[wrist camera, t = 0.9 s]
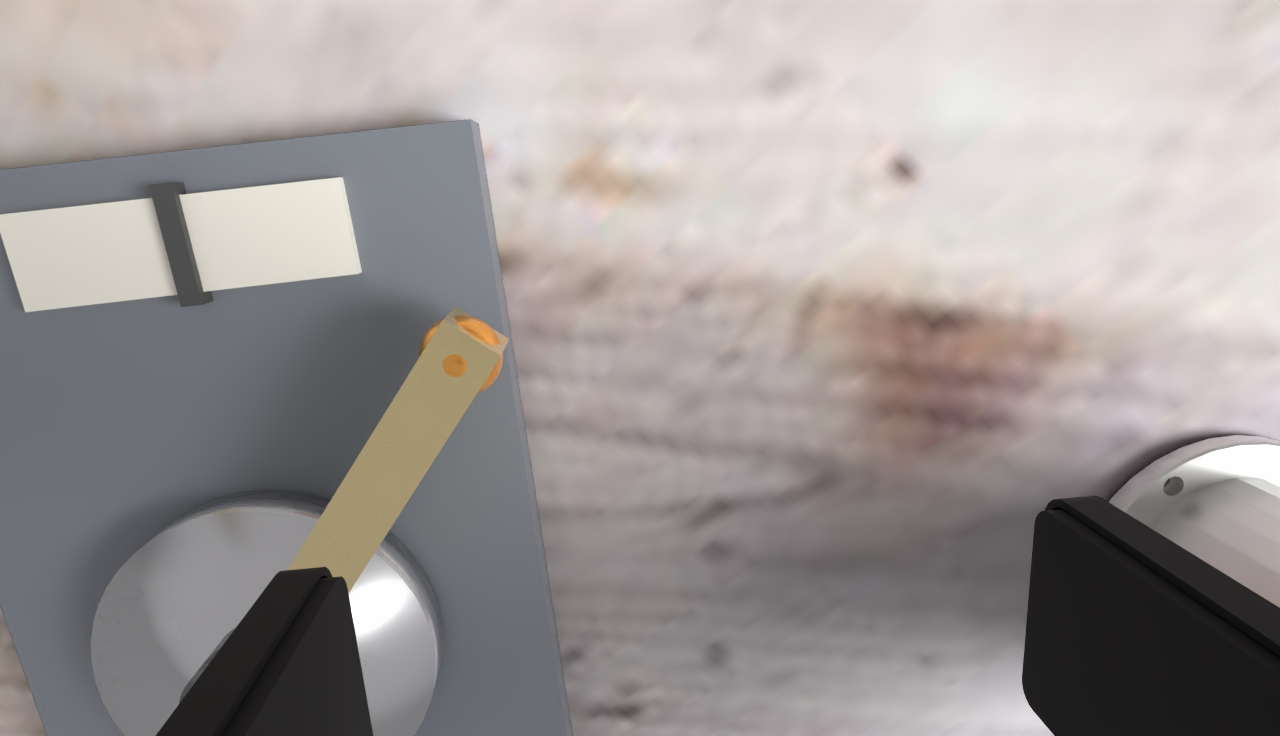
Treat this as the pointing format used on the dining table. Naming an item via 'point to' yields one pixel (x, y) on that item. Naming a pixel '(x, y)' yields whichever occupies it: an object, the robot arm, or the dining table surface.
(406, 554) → the dial lever
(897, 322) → the dining table surface
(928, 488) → the dining table surface
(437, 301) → the stand
